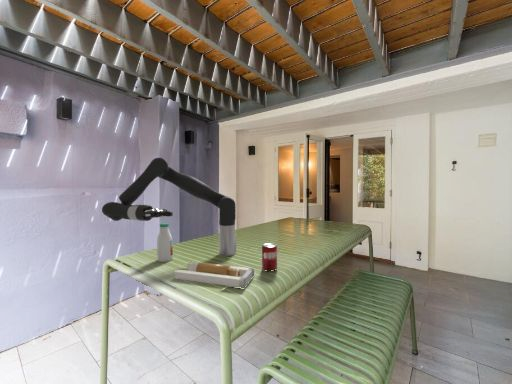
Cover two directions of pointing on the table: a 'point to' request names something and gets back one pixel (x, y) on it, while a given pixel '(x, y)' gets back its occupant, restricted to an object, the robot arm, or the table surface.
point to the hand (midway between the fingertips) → (171, 213)
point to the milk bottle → (164, 244)
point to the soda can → (269, 256)
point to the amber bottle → (217, 269)
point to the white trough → (215, 276)
